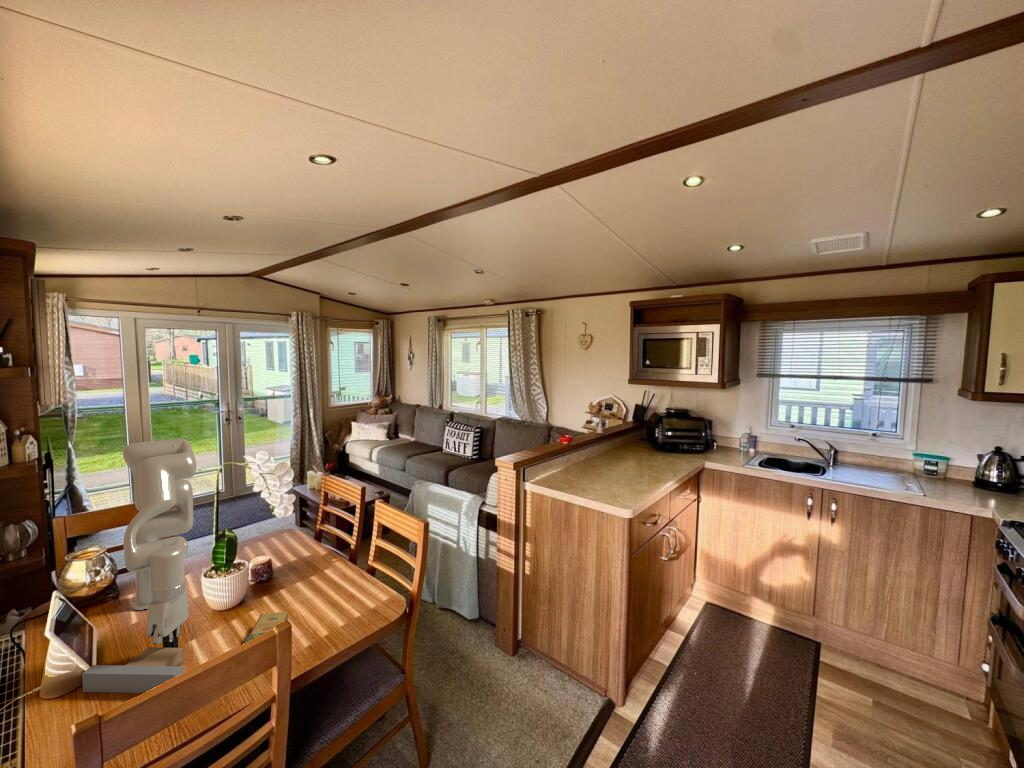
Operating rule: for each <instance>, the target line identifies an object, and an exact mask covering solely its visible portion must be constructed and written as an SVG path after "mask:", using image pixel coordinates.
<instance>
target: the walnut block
mask: <svg viewBox="0 0 1024 768" xmlns="http://www.w3.org/2000/svg"><path fill="white" fill-rule="evenodd" d="M184 659H185V658H184V648H183V647H178V648H163V647H146V648H145V649H144V650H143V651H142V652H140V653H139V654H138V655H136V656H135V657H134V658H133V659H132V660H131V659H130V661H129V662H128V663H126V664H125V665H124V666H181V667H182V665H183V664H184V662H185V660H184Z"/></svg>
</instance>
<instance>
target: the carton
mask: <svg viewBox="0 0 1024 768" xmlns="http://www.w3.org/2000/svg"><path fill="white" fill-rule="evenodd" d="M287 620H288V621H289V612H288V611H279V612H271V613H264V614H263V613H262V614H260V615H259V617H258V619H257V620H256V622H255V624H254V626H253V628H252V629H251V631H250V634H249V635H248V637H247V638H246V640H245V641H244V644H245V643H246V642H248V641H250V640H252V639H254V638H256V637H258V636H260V635H262V634H264V633H266V632H267V631H269V630H271V629H273V628H274V627H275V626H276V625H277V624H279V623H281V622H283V621H287Z"/></svg>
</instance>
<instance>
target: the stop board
mask: <svg viewBox="0 0 1024 768" xmlns="http://www.w3.org/2000/svg"><path fill="white" fill-rule="evenodd" d="M184 669H185V667H184V666H182V665H181V666H125V665H116V664H115V665H111V664H110V665H108V664H98V665H97V664H93V665H92V666H91V667H89V668H87V669H86V670H85V671H84V672H82V674H81V675H82V677H81V678H82V692H83V693H115V694H116V693H117V694H118V693H121V694H122V693H124V694H127V693H128V694H132V693H133V694H139V693H140V694H145V693H144V692H146V691H148V690H150V689H152V688H154V687H156V686H158V685H160V684H162V683H164V682H165V681H167V680H169V679H172V678H174V677H176V676H178V675H180V674H182V673H184V672H185V671H184ZM184 674H185V673H184Z"/></svg>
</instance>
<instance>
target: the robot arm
mask: <svg viewBox="0 0 1024 768" xmlns="http://www.w3.org/2000/svg"><path fill="white" fill-rule="evenodd" d="M122 457H123V460H124V462H125V463H126V466H127V467H128V468H129V469H130V471H131V473H132V476H133V495H134V505H135V508H136V510H137V511H138V512H137V513H136V515H135V516H134V517H133V518H132V519H131V521H130V522H129V523H128V525H127V527H126V529H125V531H124V535H123V555H124V559H123V560H124V565H125V568H126V570H127V571H128V572H130V573H134V574H135V591H136V592H135V593H136V594H135V595H136V597H135V598H134V599H133V600H132V601H131V602H130V608H131V609H132V610H134V611H135V610H136V611H144V609H147V617H146V637H147V638H152V637H153V638H152V645H159V644H160V643H162V648H179V636H180V631H181V628H182V627H183V624H185V622H186V620H187V619H188V618H189V613H190V612H189V611H190V610H189V608H190V606H189V598H188V594H187V590H186V580H185V579H186V577H185V557H186V554H188V551H189V550H188V549H189V544H188V541H187V539H186V538H185V537H183V536H181V534H185V533H188V532H189V531H191V530H192V528H193V525H194V491H193V487H192V484H191V482H190V481H189V480H188V479H190V478H193V477H194V476H195V474H196V472H197V460H196V457H195V453H194V451H193V448H192V445H191V443H190V441H189V440H187V439H185V438H174V439H162V440H161V439H159V440H150V441H141V442H134V443H130V444H128V445H125V447H124V448H123V450H122ZM177 535H178V536H177Z"/></svg>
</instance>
